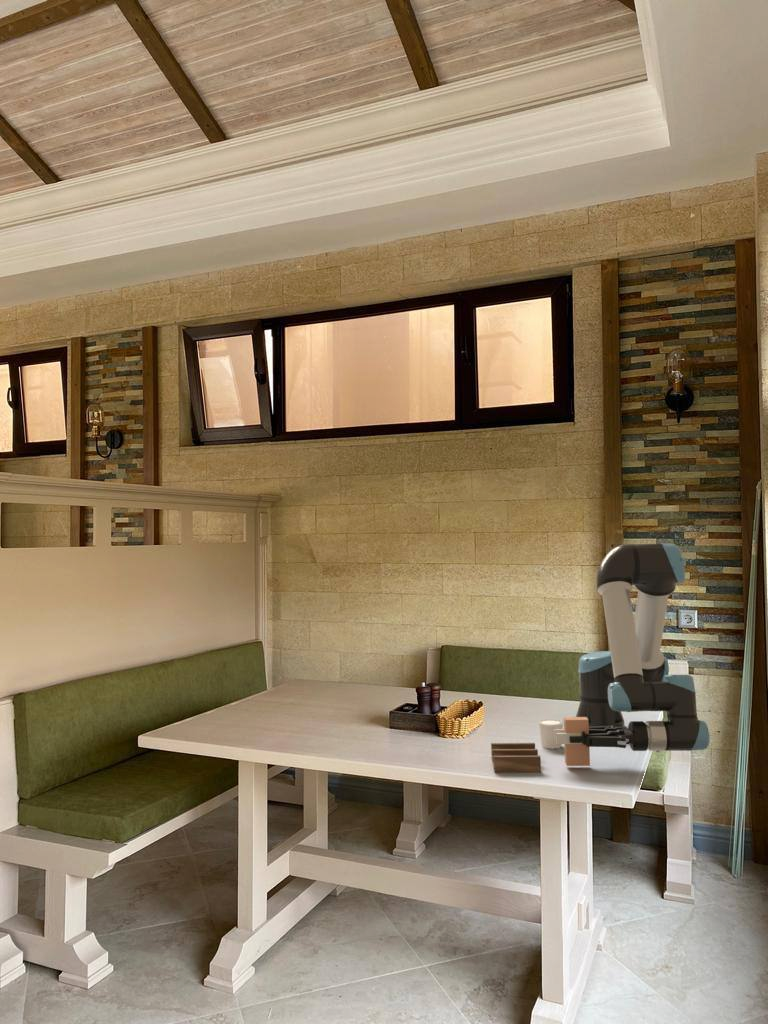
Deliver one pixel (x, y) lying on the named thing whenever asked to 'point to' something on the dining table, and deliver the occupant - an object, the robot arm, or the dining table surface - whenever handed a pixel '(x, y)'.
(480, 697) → the dining table surface
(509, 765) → the rack
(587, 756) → the tile
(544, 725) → the white cup
